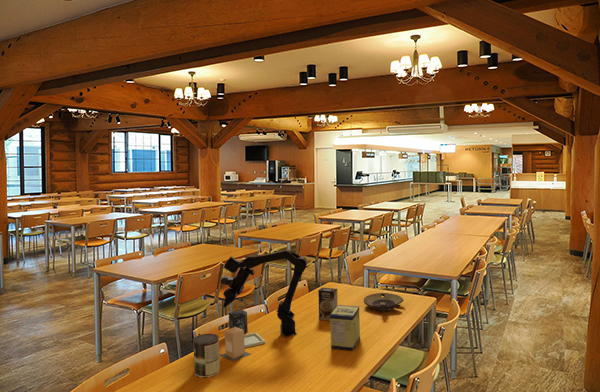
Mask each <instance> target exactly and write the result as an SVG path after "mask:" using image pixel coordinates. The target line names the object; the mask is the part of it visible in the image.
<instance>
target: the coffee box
mask: <svg viewBox="0 0 600 392" xmlns="http://www.w3.org/2000/svg"><path fill="white" fill-rule="evenodd" d="M337 306H338V288H333V287H320V288H319V289H318V320H321V321H323V320H325V321H330V315H331V313H332V312H333V311H334V310H335V308H336V307H337Z"/></svg>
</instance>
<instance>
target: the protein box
mask: <svg viewBox="0 0 600 392" xmlns="http://www.w3.org/2000/svg"><path fill="white" fill-rule="evenodd" d="M329 321H330V348H331V349H334V350H335V349H336V350H343V351H354V350H355V348H356V346H357V344H358V343H359V340H360V339H361V325H360V306H355V305H345V304H344V305H342V304H337V307H336V308H335V310H334V311H333V312H332V313H331V315H330V320H329Z"/></svg>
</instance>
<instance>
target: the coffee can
mask: <svg viewBox="0 0 600 392" xmlns="http://www.w3.org/2000/svg"><path fill="white" fill-rule="evenodd" d="M219 341H220V337H219V335H218V334H216V333H202V334H198V335H196V336H195V337H194V338H193V339H192V342H193V343H192V344H193V345H192V346H193V363H194V364H193V365H194V367H193V369H194V373H195V374H194V376H195V375H196V376H195V377H197V376H198V377H197V378H200V377H208V378H209V377H213V376H216V375H218V374H219V373H220V371H221V368H220V356H219V355H220V346H219V345H220V344H219Z"/></svg>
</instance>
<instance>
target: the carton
mask: <svg viewBox="0 0 600 392" xmlns="http://www.w3.org/2000/svg"><path fill="white" fill-rule="evenodd" d="M244 335H245V333H244V330H243V329H240V328H237V327H234V328H231V329H229V328H228V329H225V330H224V345H225V347H224V348H225V352H224V353H226V355H227V356H229V357H231V358H233V359H235V358H237V357H240V356H242V355H244V354H245V352H246V348H245V344H244Z"/></svg>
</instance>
